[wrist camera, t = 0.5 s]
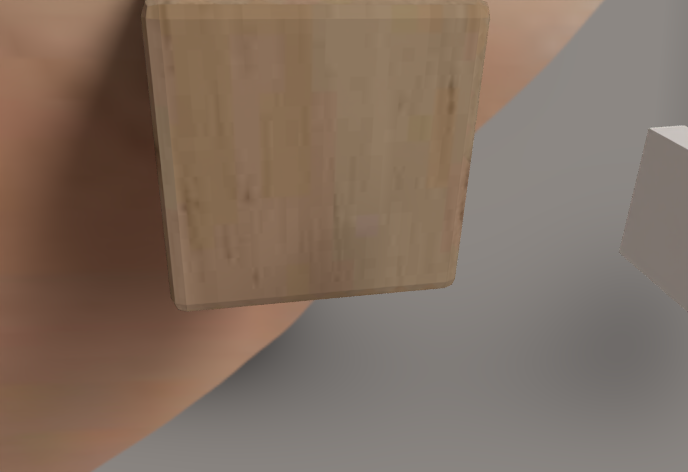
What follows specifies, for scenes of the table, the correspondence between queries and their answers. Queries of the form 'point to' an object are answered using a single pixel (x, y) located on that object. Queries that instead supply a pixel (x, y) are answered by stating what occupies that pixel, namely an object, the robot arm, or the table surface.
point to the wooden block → (311, 144)
